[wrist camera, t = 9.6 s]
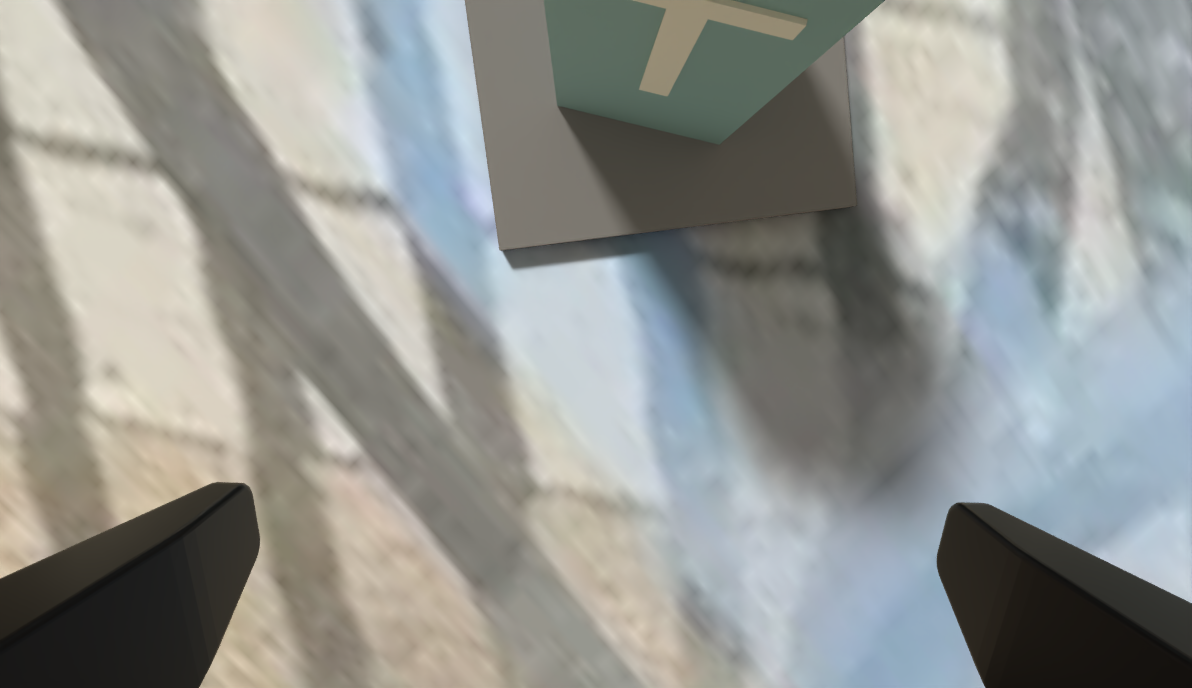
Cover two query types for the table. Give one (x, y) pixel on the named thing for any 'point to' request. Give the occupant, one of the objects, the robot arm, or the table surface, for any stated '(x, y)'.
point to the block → (688, 57)
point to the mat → (643, 148)
